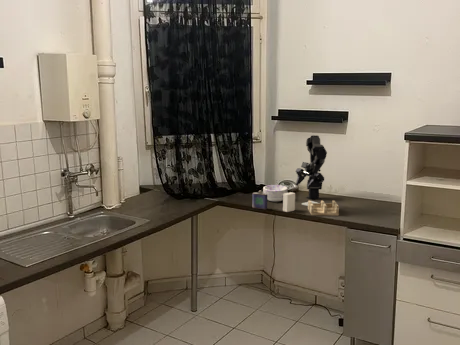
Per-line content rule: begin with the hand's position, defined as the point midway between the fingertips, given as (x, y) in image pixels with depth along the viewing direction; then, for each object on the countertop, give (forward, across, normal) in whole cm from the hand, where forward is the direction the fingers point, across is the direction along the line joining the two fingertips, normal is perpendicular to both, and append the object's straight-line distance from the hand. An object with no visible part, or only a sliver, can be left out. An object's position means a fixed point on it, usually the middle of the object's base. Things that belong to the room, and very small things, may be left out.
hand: (302, 186), depth 272 cm
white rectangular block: (+15, -2, +4) cm, 16 cm away
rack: (+6, +11, +14) cm, 19 cm away
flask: (+23, -16, -3) cm, 28 cm away
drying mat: (+1, -2, +18) cm, 18 cm away
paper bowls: (+8, -25, +11) cm, 29 cm away
